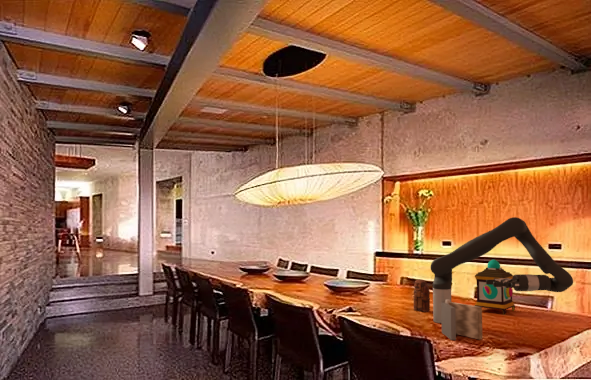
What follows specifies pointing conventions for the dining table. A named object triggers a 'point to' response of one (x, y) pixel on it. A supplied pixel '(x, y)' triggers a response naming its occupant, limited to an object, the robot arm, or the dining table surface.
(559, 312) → the dining table surface
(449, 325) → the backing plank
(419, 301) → the wooden figurine
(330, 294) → the dining table surface
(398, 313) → the dining table surface
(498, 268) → the decorative lantern
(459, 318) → the ash plank
